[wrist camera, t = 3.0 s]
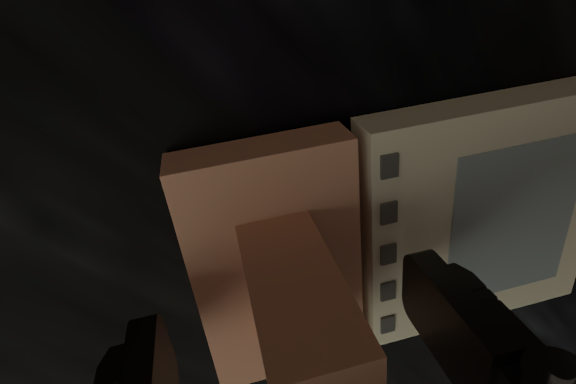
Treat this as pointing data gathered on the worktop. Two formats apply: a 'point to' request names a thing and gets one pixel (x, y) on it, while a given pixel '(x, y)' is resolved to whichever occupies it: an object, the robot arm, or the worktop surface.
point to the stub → (276, 255)
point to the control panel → (470, 195)
